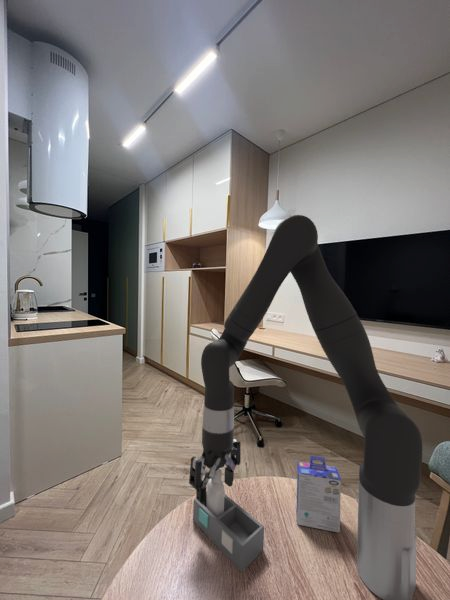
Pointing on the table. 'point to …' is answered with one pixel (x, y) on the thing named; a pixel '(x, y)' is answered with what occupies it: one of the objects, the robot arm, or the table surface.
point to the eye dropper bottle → (215, 494)
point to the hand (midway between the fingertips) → (215, 492)
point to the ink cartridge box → (318, 495)
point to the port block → (231, 531)
